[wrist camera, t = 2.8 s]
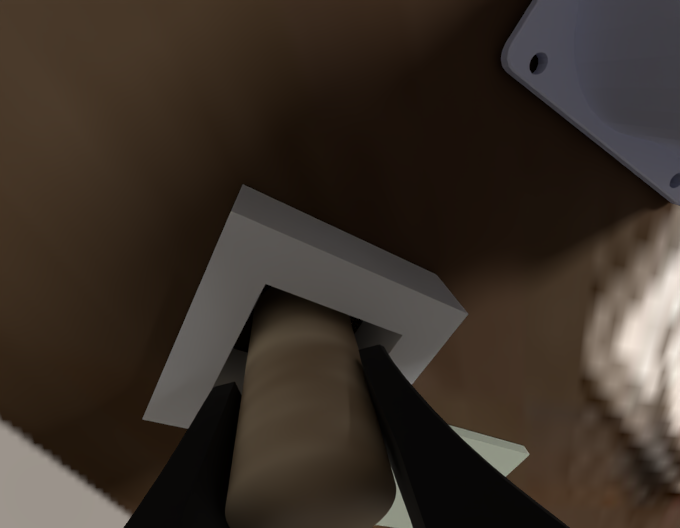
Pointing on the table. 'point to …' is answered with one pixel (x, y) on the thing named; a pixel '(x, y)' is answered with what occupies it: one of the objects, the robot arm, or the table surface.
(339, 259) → the gray square frame
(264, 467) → the plug
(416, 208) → the table surface
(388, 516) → the mat
